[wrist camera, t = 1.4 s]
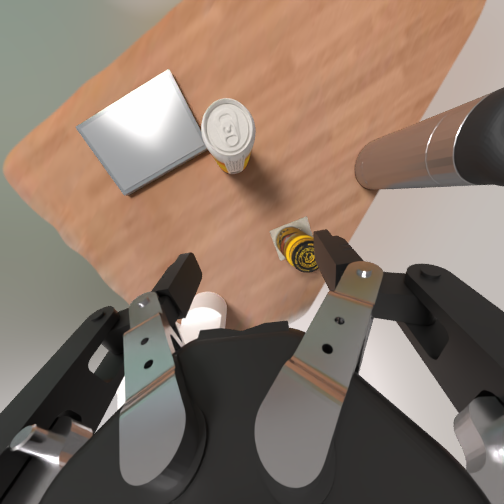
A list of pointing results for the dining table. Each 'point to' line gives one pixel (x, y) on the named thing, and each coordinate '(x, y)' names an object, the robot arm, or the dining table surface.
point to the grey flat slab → (144, 134)
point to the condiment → (296, 244)
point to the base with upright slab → (203, 315)
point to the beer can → (229, 134)
